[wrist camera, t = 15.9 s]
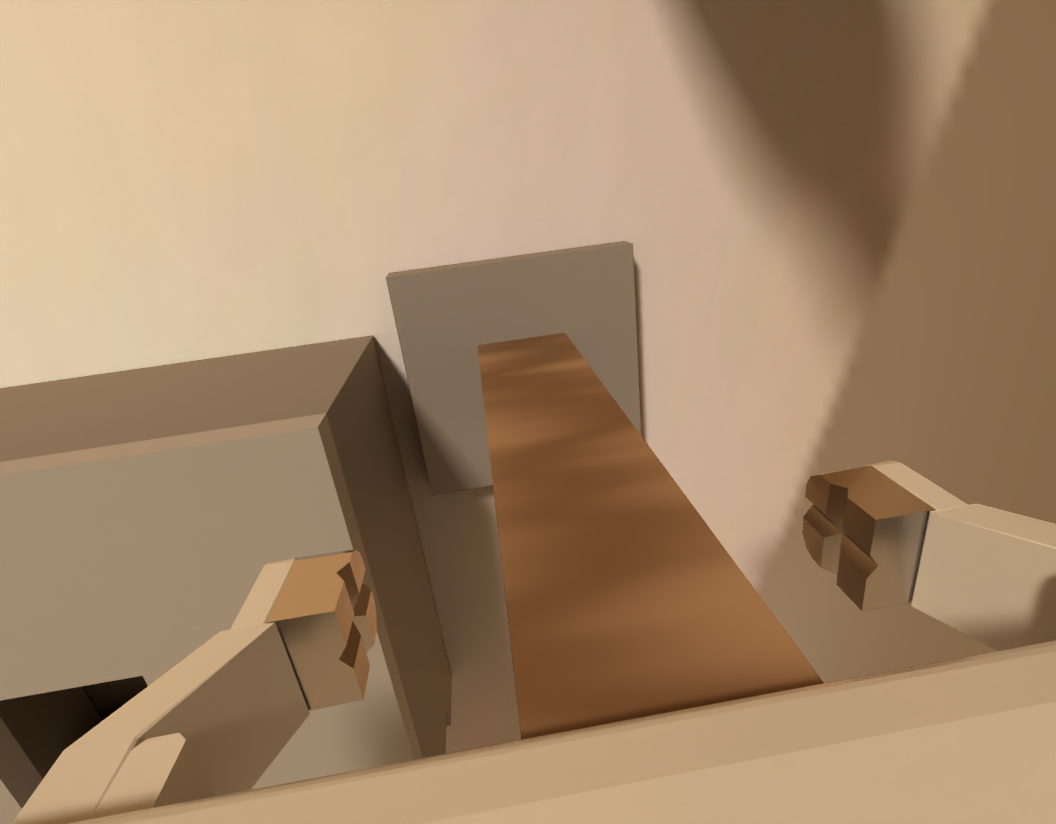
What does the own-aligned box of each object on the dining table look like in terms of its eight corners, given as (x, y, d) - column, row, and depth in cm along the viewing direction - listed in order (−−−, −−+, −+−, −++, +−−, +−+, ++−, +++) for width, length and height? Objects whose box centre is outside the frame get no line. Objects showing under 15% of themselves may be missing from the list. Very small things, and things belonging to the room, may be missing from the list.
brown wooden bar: (565, 332, 19) (952, 855, 4) (572, 413, 20) (894, 1050, 5) (477, 345, 19) (543, 941, 4) (490, 425, 20) (579, 1123, 5)
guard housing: (372, 335, 19) (317, 427, 12) (451, 675, 25) (447, 876, 18) (-118, 405, 18) (-516, 553, 11) (88, 741, 24) (-75, 983, 17)
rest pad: (624, 241, 19) (632, 243, 18) (634, 449, 22) (641, 461, 21) (389, 273, 18) (385, 277, 17) (433, 481, 21) (432, 495, 20)
